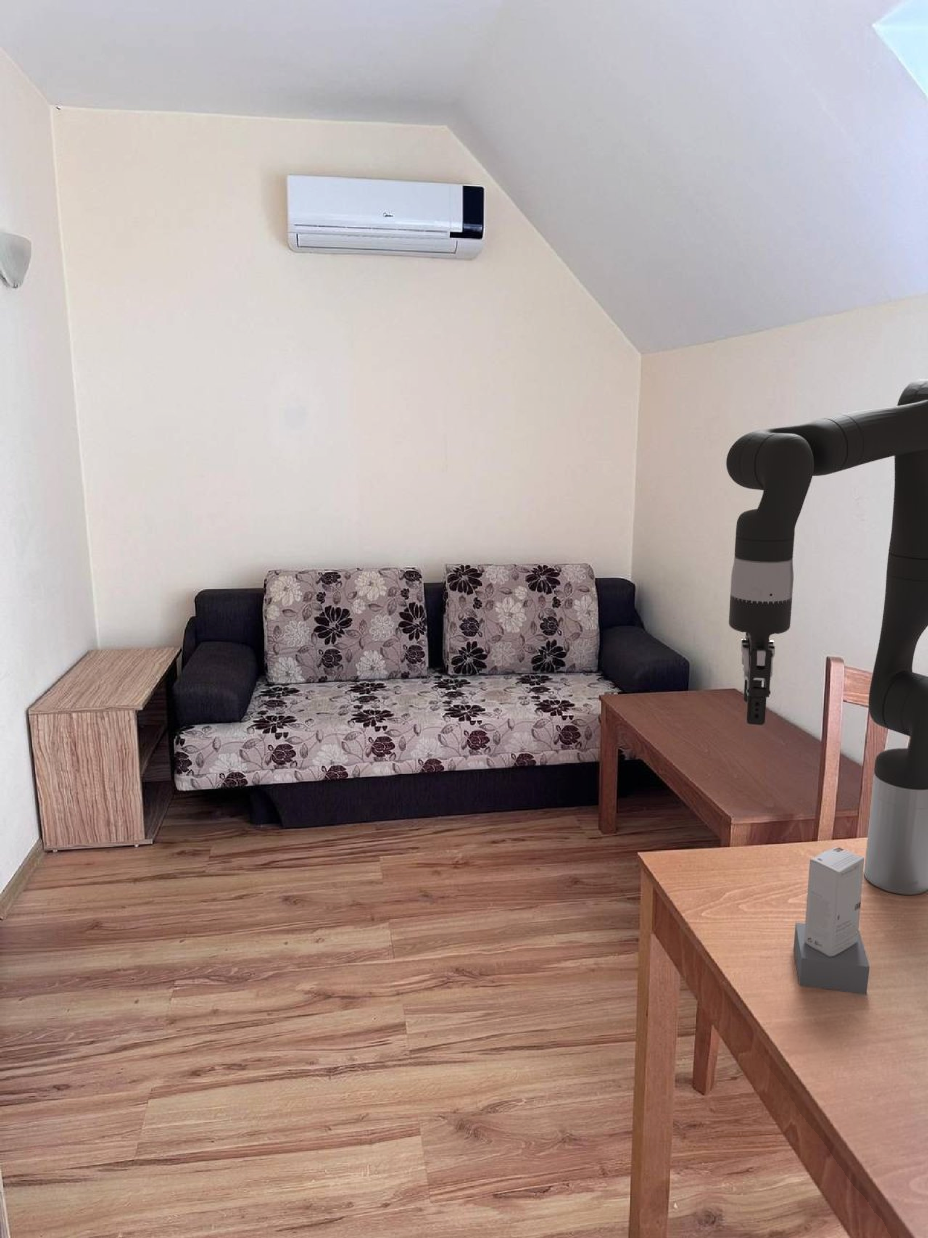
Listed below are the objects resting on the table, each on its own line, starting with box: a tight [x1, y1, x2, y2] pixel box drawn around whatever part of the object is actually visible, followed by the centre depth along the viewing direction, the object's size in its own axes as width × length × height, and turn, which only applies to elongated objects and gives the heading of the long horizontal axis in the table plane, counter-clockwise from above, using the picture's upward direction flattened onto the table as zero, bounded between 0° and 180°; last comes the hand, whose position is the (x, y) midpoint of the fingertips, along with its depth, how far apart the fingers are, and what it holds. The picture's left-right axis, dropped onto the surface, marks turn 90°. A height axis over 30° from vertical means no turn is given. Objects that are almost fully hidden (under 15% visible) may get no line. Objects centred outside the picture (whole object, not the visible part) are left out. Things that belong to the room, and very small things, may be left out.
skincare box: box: [804, 846, 865, 957], centre depth 114 cm, size 6×4×12 cm
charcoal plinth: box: [793, 922, 871, 995], centre depth 116 cm, size 8×8×4 cm
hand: (753, 712), depth 117 cm, fingers open, 8 cm apart
